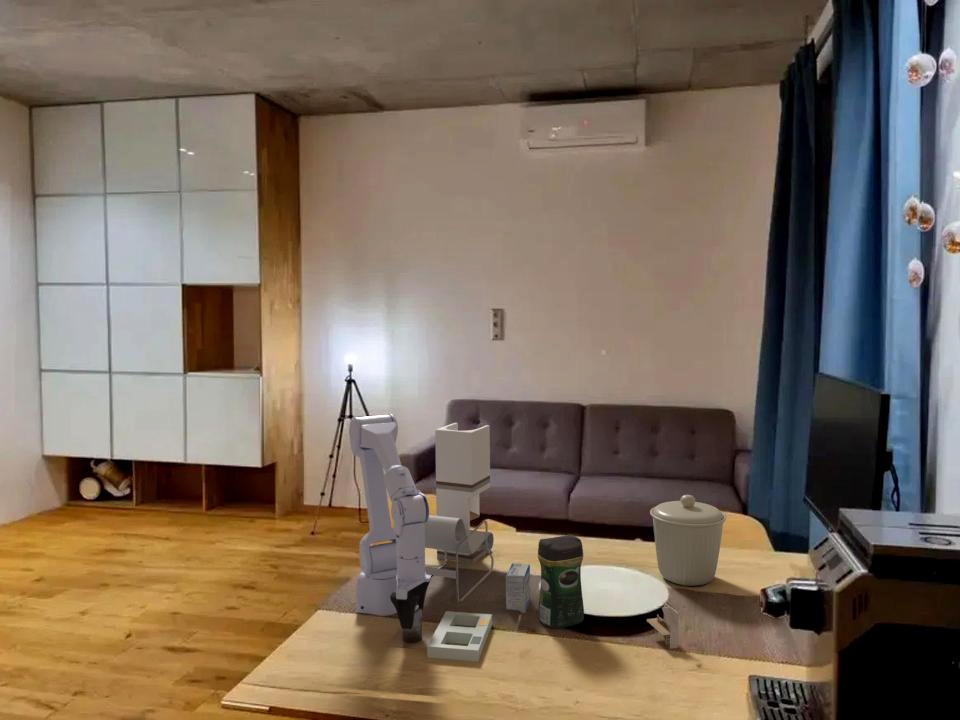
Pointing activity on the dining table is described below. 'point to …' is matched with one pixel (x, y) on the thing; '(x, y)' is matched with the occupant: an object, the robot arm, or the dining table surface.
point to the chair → (455, 543)
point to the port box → (460, 636)
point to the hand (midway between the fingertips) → (412, 619)
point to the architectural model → (667, 625)
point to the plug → (414, 628)
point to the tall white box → (461, 478)
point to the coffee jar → (560, 581)
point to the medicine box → (518, 587)
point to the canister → (687, 540)
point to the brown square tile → (421, 644)
